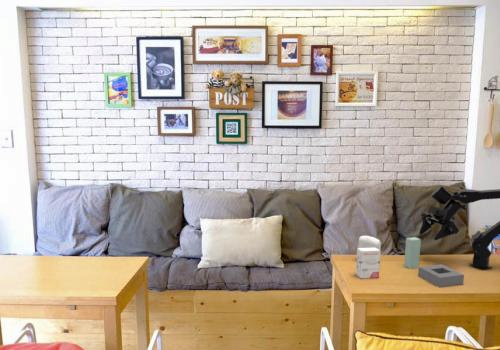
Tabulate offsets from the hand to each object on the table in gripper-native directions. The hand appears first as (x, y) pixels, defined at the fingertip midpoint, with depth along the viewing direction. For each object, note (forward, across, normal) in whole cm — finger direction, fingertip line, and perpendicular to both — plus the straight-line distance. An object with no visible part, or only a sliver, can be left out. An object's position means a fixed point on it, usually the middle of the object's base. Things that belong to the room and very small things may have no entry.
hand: (427, 236), depth 184 cm
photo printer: (+26, -10, -7) cm, 29 cm away
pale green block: (+15, 0, +4) cm, 15 cm away
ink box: (+33, +4, -14) cm, 36 cm away
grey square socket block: (+14, +16, +5) cm, 22 cm away
